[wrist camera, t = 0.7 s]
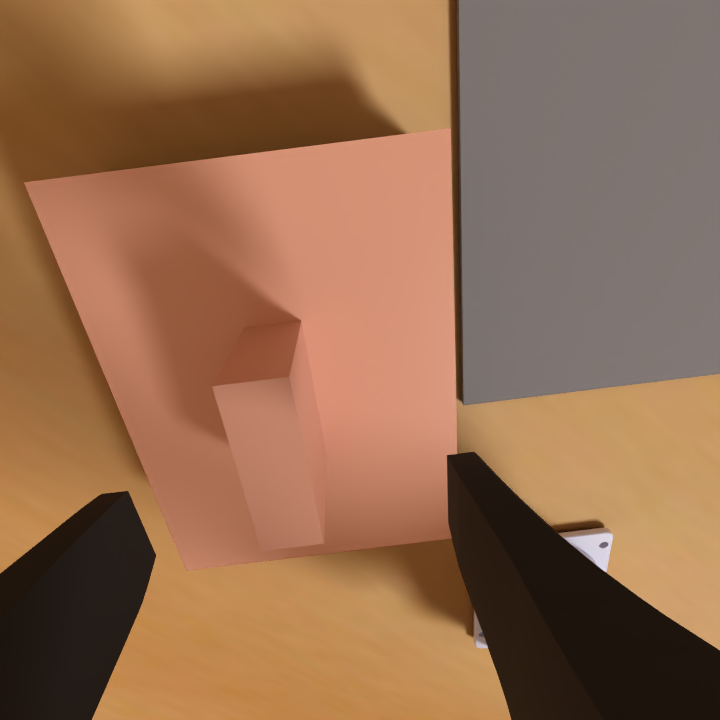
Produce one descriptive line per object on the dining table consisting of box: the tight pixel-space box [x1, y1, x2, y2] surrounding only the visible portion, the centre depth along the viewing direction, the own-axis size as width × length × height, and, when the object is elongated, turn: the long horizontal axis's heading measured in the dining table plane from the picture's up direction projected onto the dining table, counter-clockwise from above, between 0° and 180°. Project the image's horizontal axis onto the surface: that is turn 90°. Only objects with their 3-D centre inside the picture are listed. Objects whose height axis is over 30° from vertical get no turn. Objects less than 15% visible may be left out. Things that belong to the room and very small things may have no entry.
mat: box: [457, 0, 720, 405], centre depth 17 cm, size 19×15×1 cm
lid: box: [24, 128, 457, 571], centre depth 15 cm, size 17×13×6 cm
